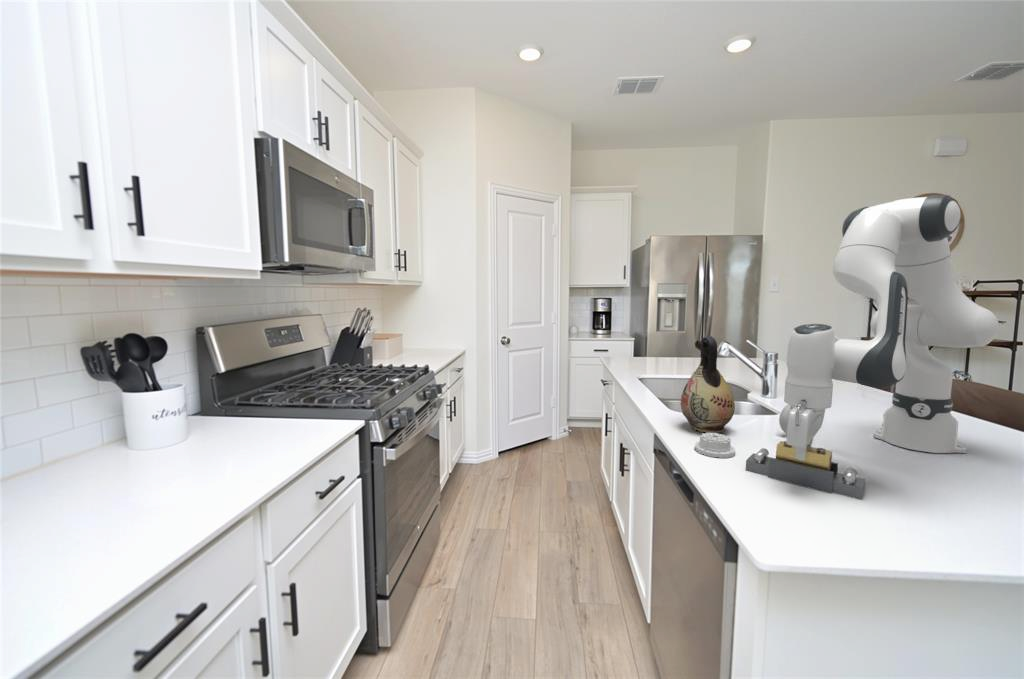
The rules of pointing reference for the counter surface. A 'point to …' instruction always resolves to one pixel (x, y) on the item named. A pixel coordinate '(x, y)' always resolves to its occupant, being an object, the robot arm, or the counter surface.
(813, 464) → the gold block with knob
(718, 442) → the mechanical component
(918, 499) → the counter surface
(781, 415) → the donut
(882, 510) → the counter surface
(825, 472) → the linear slide rail
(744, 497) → the counter surface
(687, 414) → the ceramic jug
